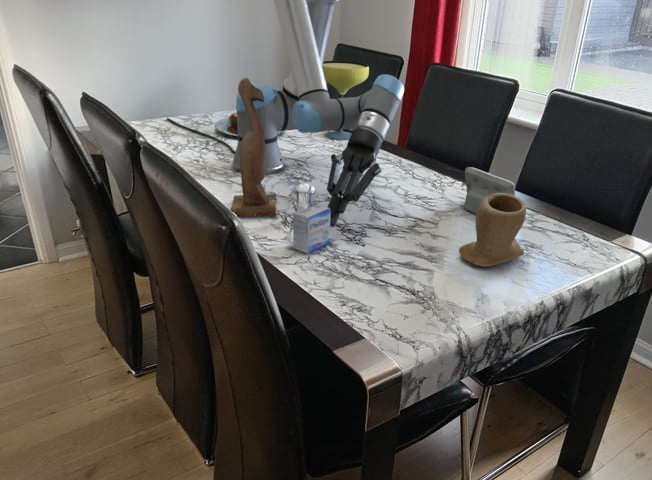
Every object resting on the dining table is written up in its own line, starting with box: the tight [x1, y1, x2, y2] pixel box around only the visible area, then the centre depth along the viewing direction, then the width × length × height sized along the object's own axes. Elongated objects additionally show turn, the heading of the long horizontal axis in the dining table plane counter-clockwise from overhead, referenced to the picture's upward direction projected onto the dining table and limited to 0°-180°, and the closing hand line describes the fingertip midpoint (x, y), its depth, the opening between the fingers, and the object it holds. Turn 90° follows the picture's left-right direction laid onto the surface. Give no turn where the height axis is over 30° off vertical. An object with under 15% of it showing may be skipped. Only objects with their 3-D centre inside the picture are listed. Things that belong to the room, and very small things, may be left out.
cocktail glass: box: [322, 60, 370, 141], centre depth 208 cm, size 18×18×25 cm
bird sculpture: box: [230, 77, 278, 219], centre depth 139 cm, size 11×12×32 cm
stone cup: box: [458, 193, 527, 267], centre depth 125 cm, size 15×12×15 cm
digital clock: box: [463, 166, 516, 215], centre depth 152 cm, size 16×9×11 cm, turn 26°
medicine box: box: [292, 203, 331, 255], centre depth 128 cm, size 8×4×9 cm, turn 143°
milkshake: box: [295, 183, 316, 212], centre depth 140 cm, size 4×5×10 cm
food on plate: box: [214, 112, 282, 137], centre depth 211 cm, size 25×25×7 cm
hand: (329, 223), depth 131 cm, fingers closed
